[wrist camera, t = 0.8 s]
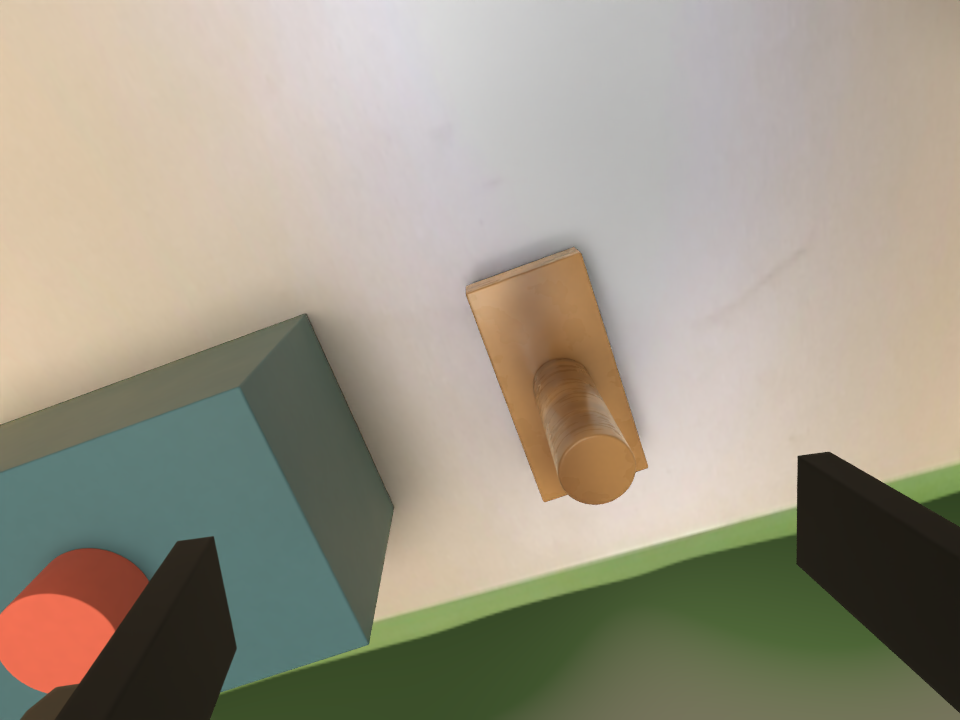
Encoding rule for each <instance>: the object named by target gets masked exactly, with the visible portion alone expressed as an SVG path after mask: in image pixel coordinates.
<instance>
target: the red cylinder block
mask: <svg viewBox="0 0 960 720" xmlns="http://www.w3.org/2000/svg"><path fill="white" fill-rule="evenodd" d="M148 583H149V581H148V579H147V578H146V576H145V575H144V573H143V572H142V571H141V570H140V569H139V568H138V567H137V566H136V565H135V564H133V563H132V562H131V561H129V560H128V559H126V558H124V557H122V556H120V555H118V554H116V553H113V552H110V551H107V550H102V549H94V548H83V549H76V550H72V551H69V552H66V553H64V554H61V555H60V556H58V557H56V558H55V559H54V560H53V561H51V562H50V563H49V564H48V565H47V566H46V567H45V568H44V569H43V570H42V571H41V572H40V573H39V574H38V576H37V577H36V578H35V579H34V580H33V581H32V582H31V583H30V584H29V585H28V586H27V587H26V588H25V589H24V590H23V591H22V592H21V593H20V594H19V595H18V596H17V597H16V598H15V599H14V600H13V601H12V602H11V603H10V604H9V605H8V606H7V607H6V608H5V609H4V610H3V612H2V613H1V614H0V661H1V662H2V664H3V665H4V667H5V668H6V669H7V670H8V671H9V672H10V673H11V674H12V675H13V676H14V677H15V678H17V679H18V680H19V681H21V682H22V683H24V684H25V685H27V686H29V687H31V688H33V689H36V690H38V691H41V692H44V693H49V692H51V691H52V690H53V689H54V688H55V687H60V686H66V685H73V684H79V683H80V682H81V680H82V679H83V677H84V676H85V674H86V673H87V672H88V670H89V669H90V667H91V666H92V664H93V663H94V661H95V660H96V658H97V657H98V656H99V654H100V653H101V651H102V650H103V648H104V647H105V645H106V644H107V642H108V641H109V640H110V638H111V637H112V635H113V634H114V632H115V631H116V629H117V628H118V626H119V625H120V624H121V622H122V621H123V619H124V618H125V616H126V615H127V613H128V612H129V610H130V609H131V608H132V606H133V605H134V603H135V602H136V600H137V599H138V597H139V596H140V594H141V593H142V592H143V590H144V589H145V587H146V586H147V584H148Z"/></svg>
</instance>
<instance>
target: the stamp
mask: <svg viewBox="0 0 960 720" xmlns="http://www.w3.org/2000/svg"><path fill="white" fill-rule="evenodd" d="M466 297H467V299H468V302H469V305H470V307H471V310H472V313H473V315H474V318H475V321H476V323H477V326H478V329H479V331H480V334H481V337H482V339H483V342H484V345H485V347H486V350H487V353H488V355H489V358H490V361H491V363H492V366H493V369H494V371H495V374H496V377H497V379H498V382H499V385H500V387H501V390H502V393H503V395H504V398H505V401H506V403H507V406H508V409H509V411H510V414H511V417H512V419H513V422H514V425H515V427H516V430H517V433H518V435H519V438H520V441H521V443H522V446H523V449H524V451H525V454H526V457H527V459H528V462H529V465H530V467H531V470H532V473H533V475H534V478H535V481H536V483H537V486H538V489H539V491H540V494H541V497H542V499H543V501H544V502H547V501H550V500H553V499H556V498H559V497H562V496H565V495H569V496H570V497H572V498H573V499H575V500H577V501H579V502H582V503H585V504H592V505H598V504H604V503H608V502H611V501H613V500H615V499H617V498H618V497H620V496H621V495H622V494H623V493H625V492H626V490H627V489H628V488H629V486H630V485H631V483H632V481H633V479H634V476H635V472H637V471H640V470H643V469H646V468H648V464H647V461H646V458H645V454H644V451H643V448H642V445H641V442H640V439H639V435H638V432H637V429H636V426H635V423H634V419H633V416H632V413H631V410H630V407H629V404H628V400H627V397H626V394H625V391H624V388H623V384H622V381H621V378H620V375H619V372H618V369H617V365H616V362H615V359H614V356H613V353H612V349H611V346H610V343H609V340H608V337H607V333H606V330H605V327H604V324H603V321H602V318H601V314H600V311H599V308H598V305H597V302H596V298H595V295H594V292H593V289H592V286H591V283H590V279H589V276H588V273H587V270H586V267H585V263H584V260H583V257H582V254H581V253H580V252H579V251H578V250H577V249H576V248H575V247H572V248H570V249H567V250H564V251H561V252H559V253H556V254H553V255H550V256H548V257H545V258H542V259H539V260H537V261H534V262H531V263H528V264H526V265H523V266H520V267H517V268H514V269H512V270H509V271H506V272H503V273H501V274H498V275H495V276H492V277H490V278H487V279H484V280H481V281H479V282H476V283H473V284H470V285H468V286H466Z"/></svg>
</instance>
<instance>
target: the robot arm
mask: <svg viewBox="0 0 960 720" xmlns="http://www.w3.org/2000/svg"><path fill="white" fill-rule="evenodd" d="M797 565H798V566H799V567H800V568H802V569H803V570H804V571H805V572H806V573H807V574H808V575H809V576H810V577H811V578H812V579H814V580H815V581H816V582H817V583H818V584H819V585H820V586H821V587H822V588H823V589H825V590H826V591H827V592H828V593H829V594H830V595H831V596H832V597H833V598H834V599H835V600H837V601H838V602H839V603H840V604H841V605H842V606H843V607H844V608H845V609H846V610H848V611H849V612H850V613H851V614H852V615H853V616H854V617H855V618H856V619H857V620H858V621H860V622H861V623H862V624H863V625H864V626H865V627H866V628H867V629H868V630H869V631H871V632H872V633H873V634H874V635H875V636H876V637H877V638H878V639H879V640H880V641H881V642H883V643H884V644H885V645H886V646H887V647H888V648H889V649H890V650H891V651H892V652H894V653H895V654H896V655H897V656H898V657H899V658H900V659H901V660H902V661H904V662H905V663H906V664H907V665H908V666H909V667H910V668H911V669H912V670H913V671H914V672H916V673H917V674H918V675H919V676H920V677H921V678H922V679H923V680H924V681H925V682H926V683H928V684H929V685H930V686H931V687H932V688H933V689H934V690H935V691H936V692H937V693H938V694H940V695H941V696H942V697H943V698H944V699H945V700H946V701H947V702H948V703H950V705H952V706H953V707H954V708H955V709H956V710H957V711H958V712H959V713H960V527H959V526H957V525H956V524H954V523H952V522H950V521H948V520H947V519H945V518H943V517H942V516H940V515H938V514H936V513H935V512H933V511H931V510H930V509H928V508H926V507H924V506H923V505H921V504H919V503H917V502H916V501H914V500H912V499H910V498H909V497H907V496H905V495H904V494H902V493H900V492H898V491H897V490H895V489H893V488H891V487H890V486H888V485H886V484H884V483H883V482H881V481H879V480H878V479H876V478H874V477H872V476H871V475H869V474H867V473H865V472H864V471H862V470H860V469H858V468H857V467H855V466H853V465H852V464H850V463H848V462H846V461H845V460H843V459H841V458H839V457H838V456H836V455H834V454H832V453H831V452H823V453H816V454H809V455H801V456H798V476H797ZM236 650H237V646H236V641H235V636H234V631H233V626H232V621H231V617H230V612H229V607H228V602H227V597H226V592H225V588H224V583H223V578H222V573H221V568H220V563H219V558H218V554H217V549H216V544H215V539H214V536H211V537H203V538H196V539H189V540H181V541H177V542H176V543H175V545H174V546H173V548H172V549H171V551H170V552H169V554H168V555H167V557H166V558H165V560H164V561H163V562H162V564H161V565H160V567H159V568H158V570H157V571H156V573H155V574H154V576H153V577H152V578H151V580H150V581H149V583H148V584H147V586H146V587H145V589H144V590H143V592H142V593H141V594H140V596H139V597H138V599H137V600H136V602H135V603H134V605H133V606H132V608H131V609H130V610H129V612H128V613H127V615H126V616H125V618H124V619H123V621H122V622H121V624H120V625H119V626H118V628H117V629H116V631H115V632H114V634H113V635H112V637H111V638H110V640H109V641H108V642H107V644H106V645H105V647H104V648H103V650H102V651H101V653H100V654H99V656H98V657H97V658H96V660H95V661H94V663H93V664H92V666H91V667H90V669H89V670H88V672H87V673H86V674H85V676H84V677H83V679H82V680H81V682H80V683H79V684H73V685H66V686H60V687H55V688H54V689H53V690H52V691H51V692H49V693H48V694H47V695H46V696H44V697H43V698H42V699H41V700H40V701H38V702H37V703H36V704H35V705H33V706H32V707H31V708H30V709H28V710H27V711H26V712H25V714H24V715H23V716H22V718H21V719H20V720H210V717H211V715H212V712H213V710H214V707H215V704H216V702H217V699H218V697H219V694H220V691H221V689H222V686H223V684H224V681H225V678H226V676H227V673H228V671H229V668H230V665H231V663H232V660H233V658H234V655H235V652H236Z"/></svg>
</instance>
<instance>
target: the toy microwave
mask: <svg viewBox="0 0 960 720" xmlns="http://www.w3.org/2000/svg"><path fill="white" fill-rule="evenodd" d="M393 510H394V507H393V504H392V502H391V500H390V498H389V496H388V493H387V491H386V489H385V487H384V485H383V482H382V480H381V478H380V476H379V474H378V471H377V469H376V467H375V465H374V463H373V460H372V458H371V456H370V454H369V452H368V449H367V447H366V445H365V443H364V441H363V438H362V436H361V434H360V432H359V430H358V427H357V425H356V423H355V421H354V419H353V416H352V414H351V412H350V410H349V408H348V405H347V403H346V401H345V399H344V397H343V394H342V392H341V390H340V388H339V386H338V383H337V381H336V379H335V377H334V375H333V372H332V370H331V368H330V366H329V363H328V361H327V359H326V357H325V355H324V352H323V350H322V348H321V346H320V344H319V341H318V339H317V337H316V335H315V333H314V330H313V328H312V326H311V324H310V322H309V319H308V317H307V315H306V314H303V315H300V316H297V317H295V318H292V319H289V320H286V321H284V322H281V323H278V324H275V325H273V326H270V327H267V328H264V329H262V330H259V331H256V332H254V333H251V334H248V335H245V336H243V337H240V338H237V339H234V340H232V341H229V342H226V343H223V344H221V345H218V346H215V347H213V348H210V349H207V350H204V351H202V352H199V353H196V354H193V355H191V356H188V357H185V358H183V359H180V360H177V361H174V362H172V363H169V364H166V365H163V366H161V367H158V368H155V369H152V370H150V371H147V372H144V373H142V374H139V375H136V376H133V377H131V378H128V379H125V380H122V381H120V382H117V383H114V384H111V385H109V386H106V387H103V388H101V389H98V390H95V391H92V392H90V393H87V394H84V395H81V396H79V397H76V398H73V399H70V400H68V401H65V402H62V403H60V404H57V405H54V406H51V407H49V408H46V409H43V410H40V411H38V412H35V413H32V414H29V415H27V416H24V417H21V418H19V419H16V420H13V421H10V422H8V423H5V424H2V425H0V614H1V613H2V612H3V610H4V609H5V608H6V607H7V606H8V605H9V604H10V603H11V602H12V601H13V600H14V599H15V598H16V597H17V596H18V595H19V594H20V593H21V592H22V591H23V590H24V589H25V588H26V587H27V586H28V585H29V584H30V583H31V582H32V581H33V580H34V579H35V578H36V577H37V576H38V574H39V573H40V572H41V571H42V570H43V569H44V568H45V567H46V566H47V565H48V564H49V563H50V562H51V561H53V560H54V559H55V558H56V557H58V556H60V555H61V554H64V553H66V552H69V551H72V550H76V549H83V548H94V549H102V550H107V551H110V552H113V553H116V554H118V555H120V556H122V557H124V558H126V559H128V560H129V561H131V562H132V563H133V564H135V565H136V566H137V567H138V568H139V569H140V570H141V571H142V572H143V573H144V575H145V576H146V578H147V579H148V581H150V580H151V578H152V577H153V576H154V574H155V573H156V571H157V570H158V568H159V567H160V565H161V564H162V562H163V561H164V560H165V558H166V557H167V555H168V554H169V552H170V551H171V549H172V548H173V546H174V545H175V543H176V542H177V541H181V540H189V539H196V538H203V537H211V536H214V539H215V544H216V549H217V554H218V558H219V563H220V568H221V573H222V578H223V583H224V588H225V592H226V597H227V602H228V607H229V612H230V617H231V621H232V626H233V631H234V636H235V641H236V646H237V650H236V652H235V655H234V658H233V660H232V663H231V665H230V668H229V671H228V673H227V676H226V678H225V681H224V684H223V686H222V689H221V691H220V692H223V691H226V690H229V689H232V688H236V687H239V686H242V685H245V684H248V683H251V682H254V681H257V680H260V679H264V678H267V677H270V676H273V675H276V674H279V673H282V672H285V671H288V670H292V669H295V668H298V667H301V666H304V665H307V664H310V663H313V662H316V661H320V660H323V659H326V658H329V657H332V656H335V655H338V654H341V653H344V652H348V651H351V650H354V649H357V648H360V647H363V646H366V645H368V644H369V641H370V635H371V630H372V624H373V619H374V614H375V608H376V603H377V597H378V592H379V586H380V581H381V575H382V570H383V564H384V559H385V553H386V548H387V543H388V537H389V532H390V526H391V521H392V515H393ZM47 694H48V693H44V692H41V691H38V690H36V689H33V688H31V687H29V686H27V685H25V684H24V683H22V682H21V681H19V680H18V679H17V678H15V677H14V676H13V675H12V674H11V673H10V672H9V671H8V670H7V669H6V668H5V667H4V665H3V664H2V662H1V661H0V720H20V719H21V718H22V716H23V715H24V714H25V712H26V711H27V710H28V709H30V708H31V707H32V706H33V705H35V704H36V703H37V702H38V701H40V700H41V699H42V698H43V697H44V696H46V695H47Z"/></svg>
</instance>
